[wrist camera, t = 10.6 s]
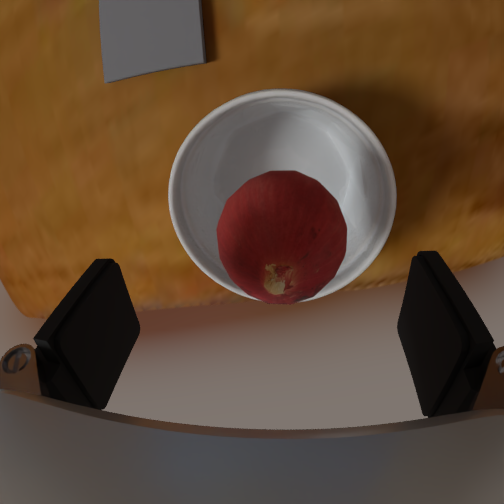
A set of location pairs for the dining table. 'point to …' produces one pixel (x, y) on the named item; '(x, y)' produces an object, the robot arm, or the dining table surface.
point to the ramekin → (282, 158)
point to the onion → (282, 237)
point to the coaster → (149, 36)
